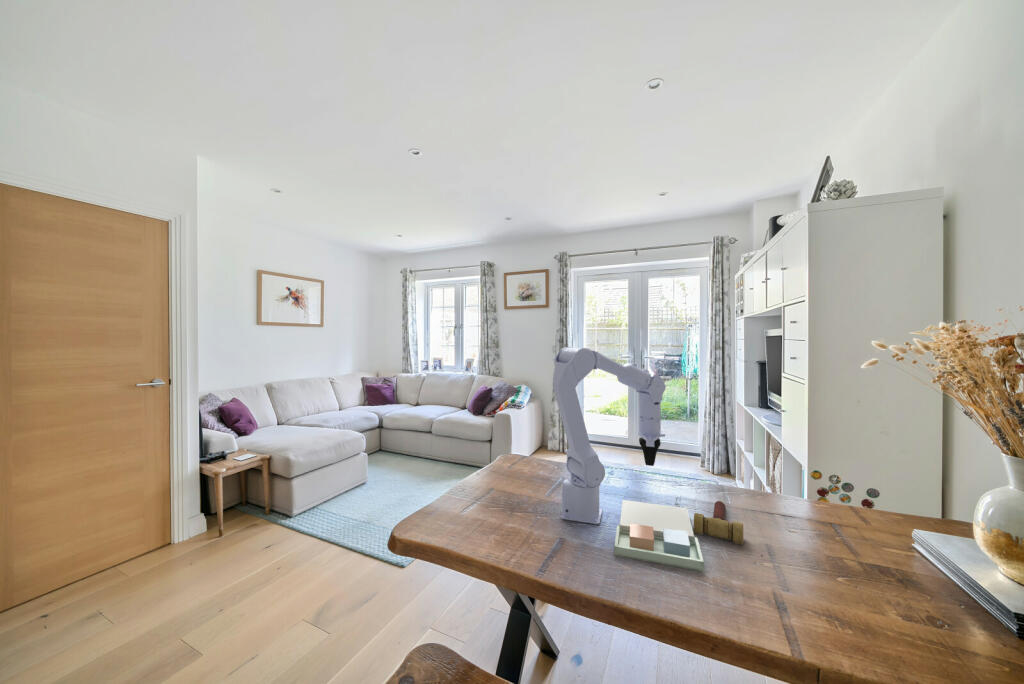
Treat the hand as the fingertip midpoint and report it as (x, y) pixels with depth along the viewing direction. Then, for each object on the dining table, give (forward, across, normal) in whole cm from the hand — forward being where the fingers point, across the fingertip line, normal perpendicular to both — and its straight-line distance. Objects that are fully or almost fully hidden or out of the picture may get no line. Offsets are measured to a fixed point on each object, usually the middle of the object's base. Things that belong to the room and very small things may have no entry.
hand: (649, 464), depth 105 cm
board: (+10, -13, -1) cm, 17 cm away
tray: (+10, -25, -1) cm, 27 cm away
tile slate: (+10, -23, -5) cm, 26 cm away
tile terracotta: (+10, -23, +2) cm, 25 cm away
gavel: (+11, -6, -16) cm, 21 cm away
